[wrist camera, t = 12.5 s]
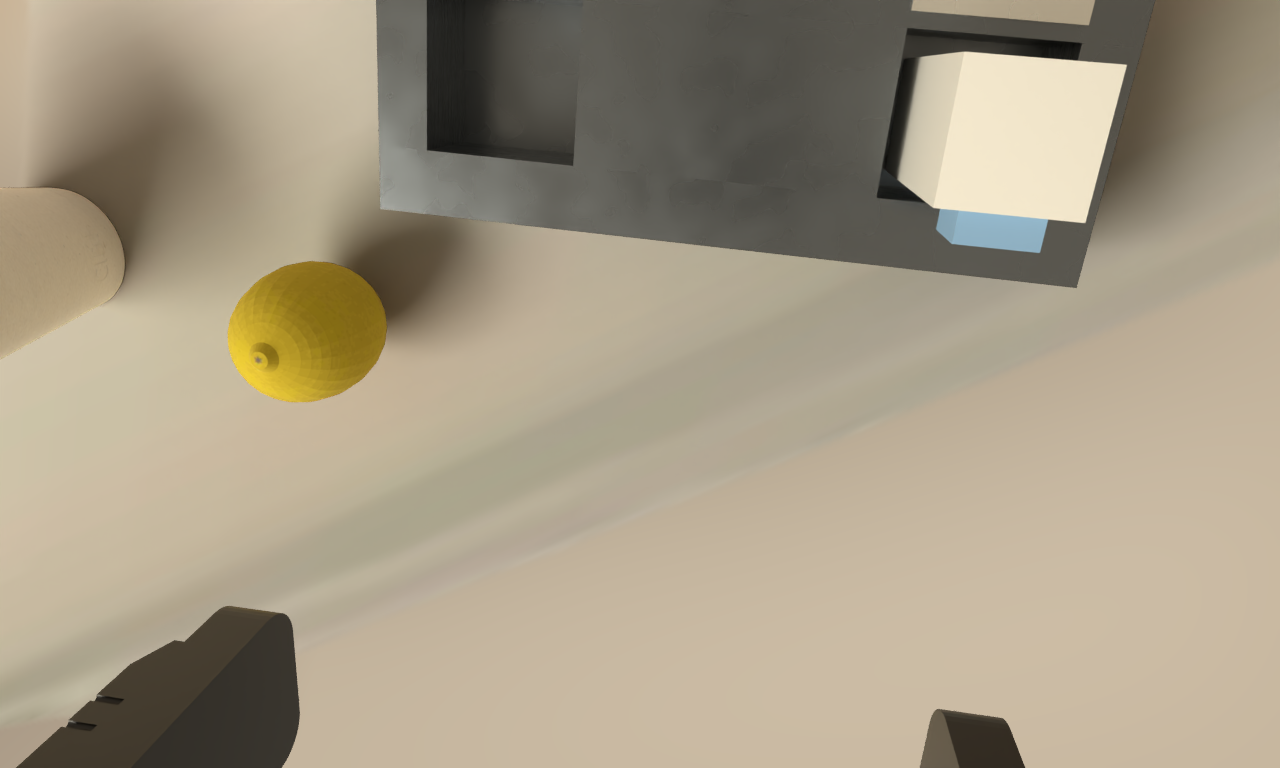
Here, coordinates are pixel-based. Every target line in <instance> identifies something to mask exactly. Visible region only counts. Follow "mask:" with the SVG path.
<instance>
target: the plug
mask: <svg viewBox="0 0 1280 768" xmlns="http://www.w3.org/2000/svg"><path fill="white" fill-rule="evenodd" d="M1126 67H1127V65H1123V64H1111V63H1099V62H1086V61H1074V60H1062V59H1049V58H1037V57H1025V56H1013V55H1000V54H988V53H976V52H957V53H949V54H941V55H932V56H924V57H916V58H908V59H905V62H904V67H903V73H902V79H901V84H900V90H899V95H898V101H897V107H896V112H895V118H894V124H893V129H892V135H891V141H890V146H889V152H888V158H887V163H886V169H885V170H886V171H887V172H888V173H889V174H891V175H892V176H893V177H894V178H896V179H897V180H898V181H900V182H901V183H902V184H903V185H905V186H906V187H907V188H908V189H910V190H911V191H912V192H914V193H915V194H916V195H917V196H919V197H920V198H921V199H922V200H924V201H925V202H926V203H928V204H929V205H930V206H931V207H933V208H938V209H940V212H939V217H938V222H937V227H936V230H937V231H938V232H939V233H940V234H941V235H942V236H944V237H945V238H946V239H947V240H948V241H949V242H950V243H951V244H957V245H967V246H977V247H986V248H996V249H1005V250H1015V251H1025V252H1034V253H1040V250H1041V246H1042V242H1043V238H1044V234H1045V230H1046V226H1047V222H1048V219H1049V220H1059V221H1069V222H1079V223H1085V222H1086V219H1087V215H1088V211H1089V207H1090V203H1091V200H1092V196H1093V192H1094V188H1095V184H1096V181H1097V177H1098V173H1099V169H1100V165H1101V162H1102V158H1103V154H1104V150H1105V146H1106V143H1107V139H1108V135H1109V131H1110V127H1111V124H1112V120H1113V116H1114V112H1115V108H1116V105H1117V101H1118V97H1119V93H1120V89H1121V86H1122V82H1123V78H1124V74H1125V70H1126Z"/></svg>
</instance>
